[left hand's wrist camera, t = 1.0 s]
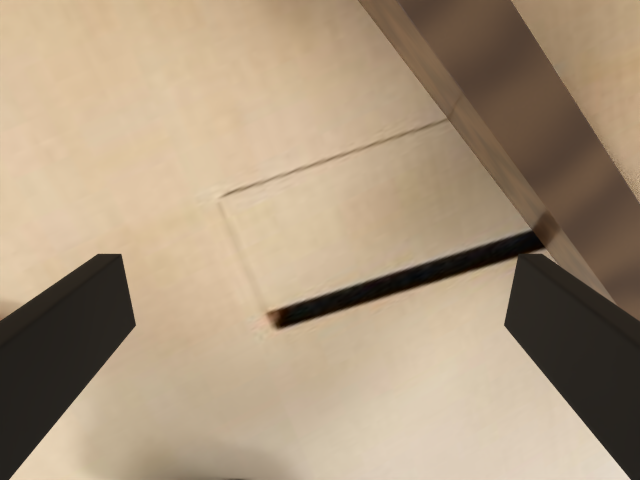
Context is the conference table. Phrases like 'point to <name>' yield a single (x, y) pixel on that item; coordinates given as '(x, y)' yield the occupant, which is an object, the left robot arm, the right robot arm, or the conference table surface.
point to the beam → (524, 133)
